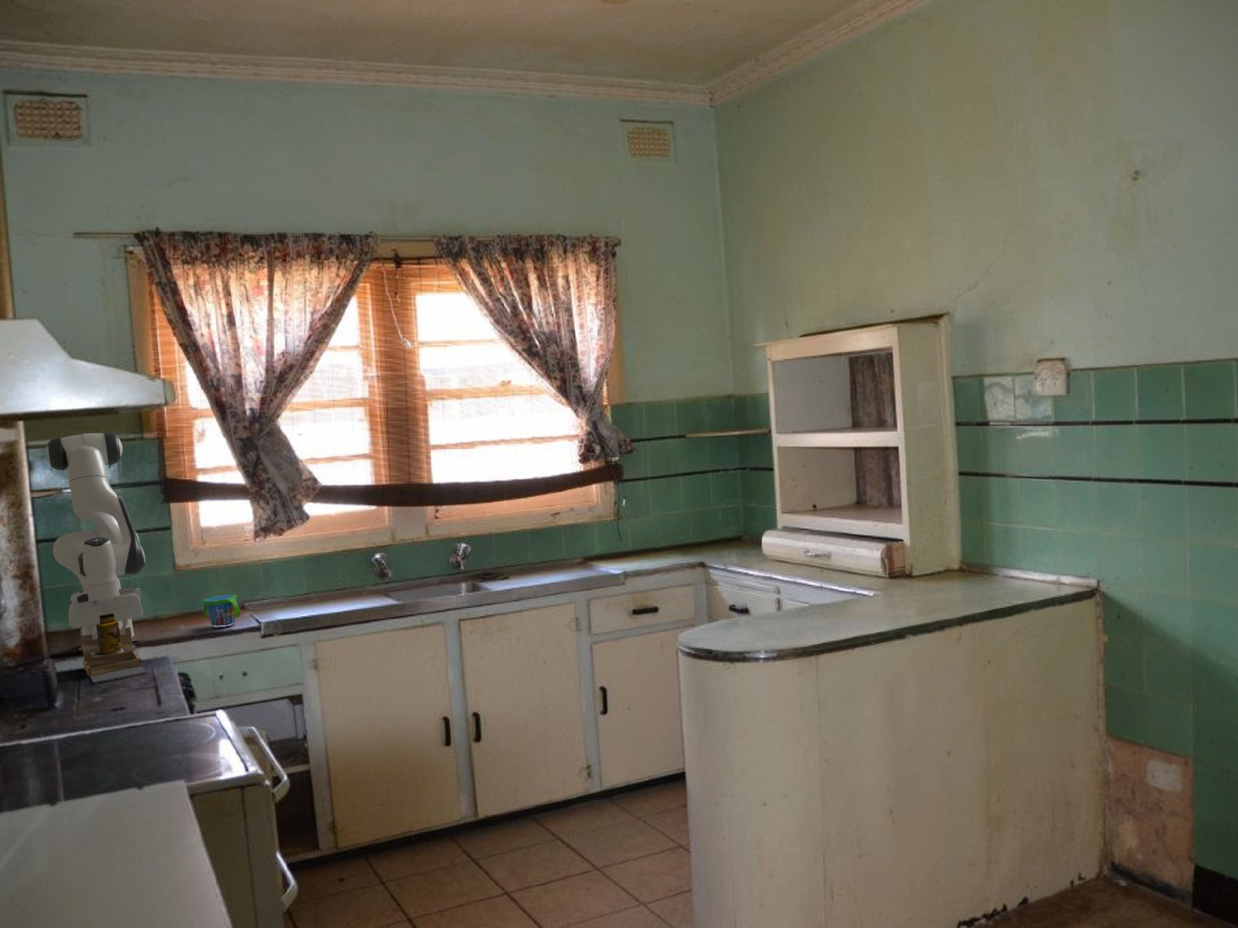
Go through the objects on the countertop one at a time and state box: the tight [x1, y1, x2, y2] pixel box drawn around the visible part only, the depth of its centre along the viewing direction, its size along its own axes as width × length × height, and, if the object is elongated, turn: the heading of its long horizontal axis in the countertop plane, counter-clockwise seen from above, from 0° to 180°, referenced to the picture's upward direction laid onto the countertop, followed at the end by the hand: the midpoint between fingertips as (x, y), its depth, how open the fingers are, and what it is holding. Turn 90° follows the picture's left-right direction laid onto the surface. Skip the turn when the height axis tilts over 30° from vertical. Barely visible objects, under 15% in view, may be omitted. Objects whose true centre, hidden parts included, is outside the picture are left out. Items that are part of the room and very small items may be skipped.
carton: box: [80, 627, 143, 677], centre depth 333 cm, size 16×15×10 cm
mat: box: [89, 665, 147, 684], centre depth 321 cm, size 9×14×1 cm, turn 121°
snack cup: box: [203, 594, 241, 626], centre depth 382 cm, size 16×10×10 cm
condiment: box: [91, 614, 125, 658], centre depth 332 cm, size 7×8×12 cm
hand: (108, 637), depth 333 cm, fingers closed on condiment, 6 cm apart
